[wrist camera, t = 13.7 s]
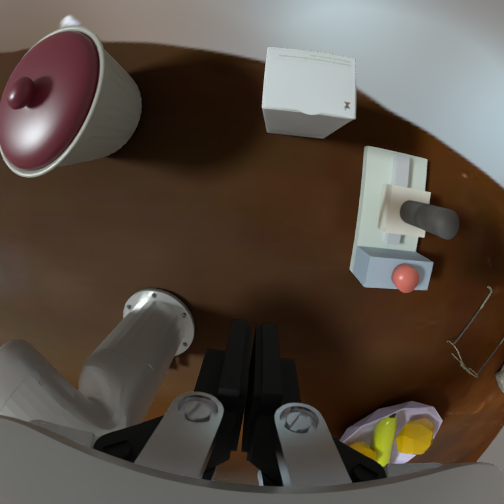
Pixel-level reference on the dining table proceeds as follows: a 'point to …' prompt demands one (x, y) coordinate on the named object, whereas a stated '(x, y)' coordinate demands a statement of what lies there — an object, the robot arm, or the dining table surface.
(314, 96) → the skincare box
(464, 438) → the dining table surface
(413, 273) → the button
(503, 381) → the ceramic sculpture
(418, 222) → the carriage
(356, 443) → the fruit bowl
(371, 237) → the rail board
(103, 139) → the canister
